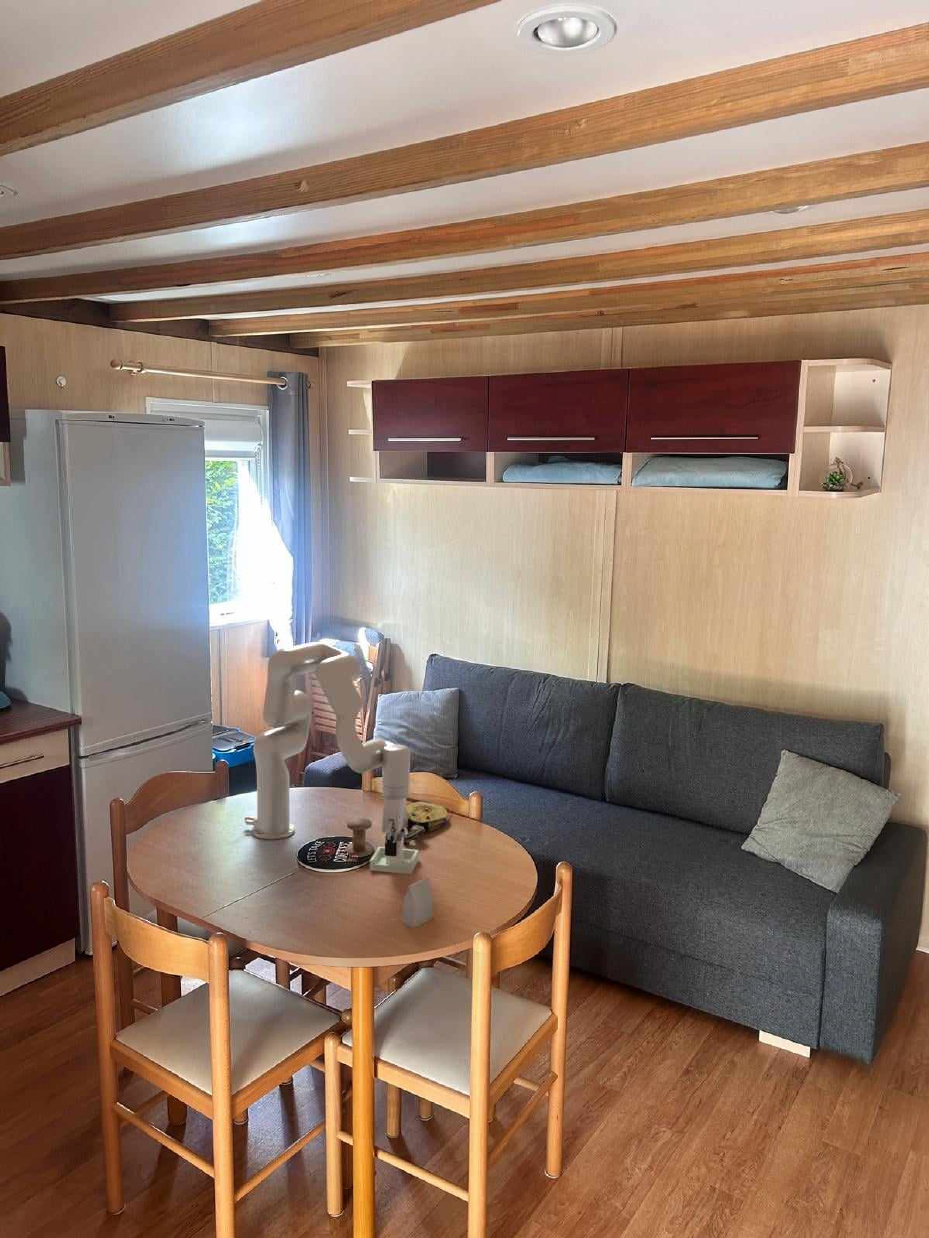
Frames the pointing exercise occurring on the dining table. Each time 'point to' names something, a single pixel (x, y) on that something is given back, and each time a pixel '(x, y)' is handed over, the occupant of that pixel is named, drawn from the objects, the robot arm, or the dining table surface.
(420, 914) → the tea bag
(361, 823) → the knob
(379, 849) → the open tray
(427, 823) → the pulley block
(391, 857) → the white grey rectangular block
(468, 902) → the dining table surface
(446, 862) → the dining table surface
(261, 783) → the robot arm
